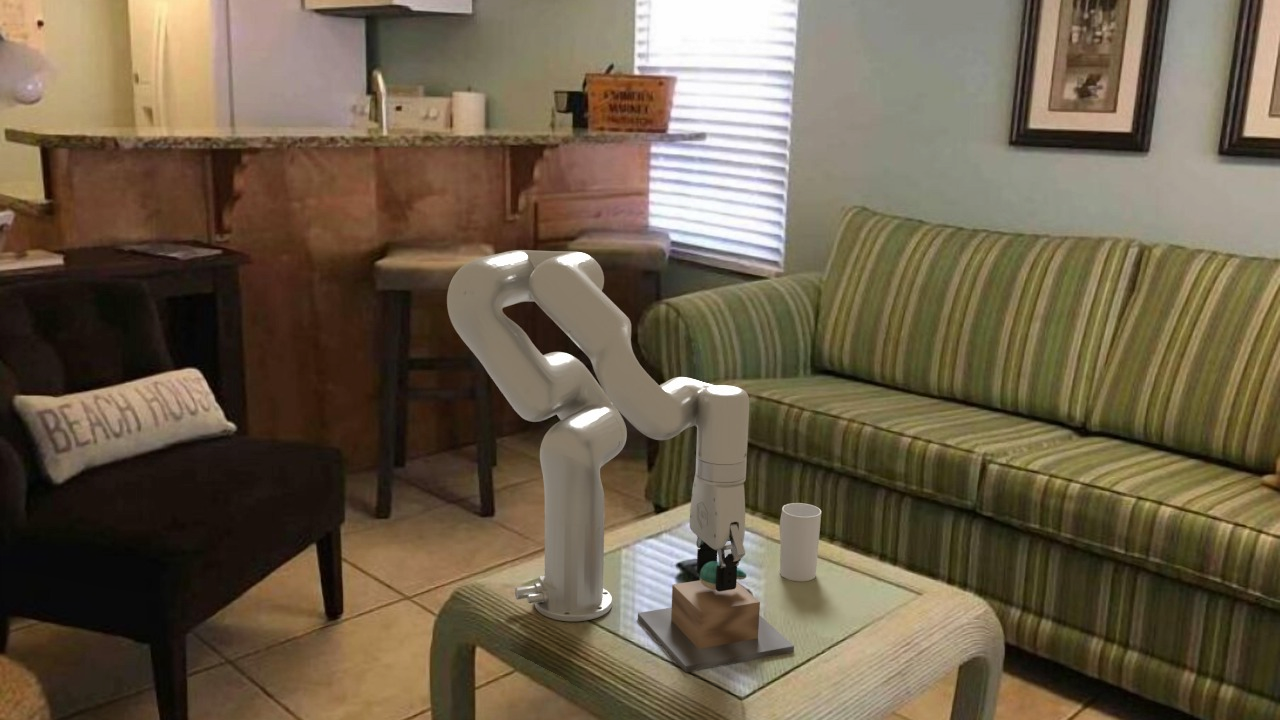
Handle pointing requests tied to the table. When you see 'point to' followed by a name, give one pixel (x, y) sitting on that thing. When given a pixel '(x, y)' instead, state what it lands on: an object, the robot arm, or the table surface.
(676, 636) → the display plinth
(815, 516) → the mug
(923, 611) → the table surface
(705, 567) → the whale figurine
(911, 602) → the table surface
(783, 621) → the table surface
